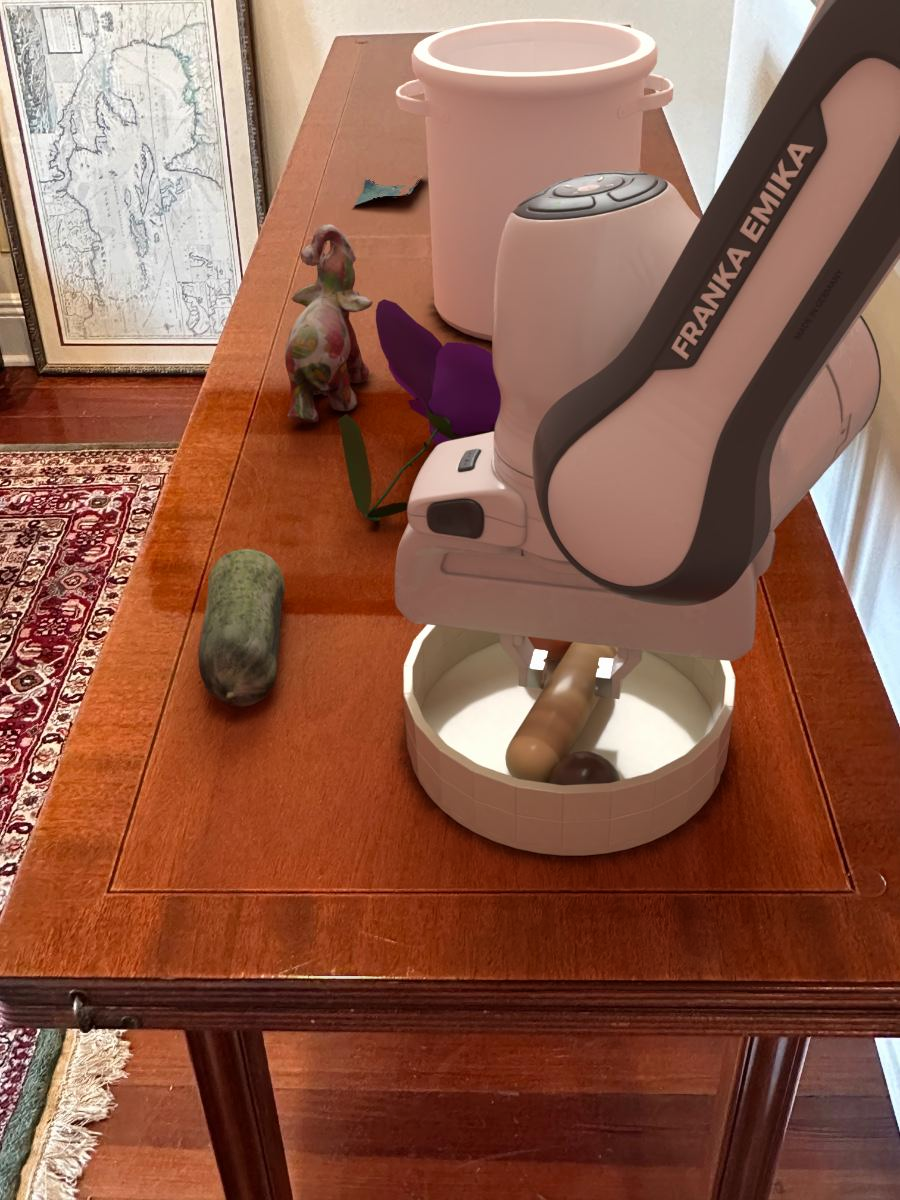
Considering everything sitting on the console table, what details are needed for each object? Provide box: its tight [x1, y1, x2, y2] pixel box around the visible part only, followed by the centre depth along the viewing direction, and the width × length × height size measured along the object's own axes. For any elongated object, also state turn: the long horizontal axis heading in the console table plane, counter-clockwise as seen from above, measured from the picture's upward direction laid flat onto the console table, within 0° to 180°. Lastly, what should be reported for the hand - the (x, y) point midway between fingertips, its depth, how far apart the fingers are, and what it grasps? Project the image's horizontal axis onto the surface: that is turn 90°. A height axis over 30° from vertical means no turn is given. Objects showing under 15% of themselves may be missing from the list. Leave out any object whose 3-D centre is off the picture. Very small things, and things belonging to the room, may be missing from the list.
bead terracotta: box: [528, 637, 573, 660], centre depth 77 cm, size 4×4×4 cm
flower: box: [336, 298, 501, 522], centre depth 92 cm, size 15×15×14 cm
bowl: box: [402, 624, 737, 857], centre depth 71 cm, size 19×19×5 cm
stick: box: [505, 642, 617, 783], centre depth 71 cm, size 13×3×3 cm, turn 155°
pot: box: [395, 18, 674, 343], centre depth 115 cm, size 26×22×25 cm
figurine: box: [284, 223, 373, 423], centre depth 104 cm, size 8×12×15 cm, turn 146°
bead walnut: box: [549, 751, 621, 785], centre depth 66 cm, size 4×4×4 cm
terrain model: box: [352, 179, 419, 206], centre depth 152 cm, size 13×8×2 cm, turn 170°
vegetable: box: [197, 548, 286, 708], centre depth 78 cm, size 14×5×5 cm, turn 4°
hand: (570, 686), depth 71 cm, fingers closed on stick, 3 cm apart
